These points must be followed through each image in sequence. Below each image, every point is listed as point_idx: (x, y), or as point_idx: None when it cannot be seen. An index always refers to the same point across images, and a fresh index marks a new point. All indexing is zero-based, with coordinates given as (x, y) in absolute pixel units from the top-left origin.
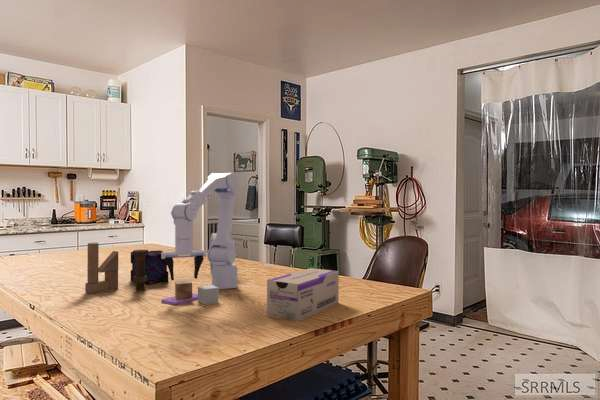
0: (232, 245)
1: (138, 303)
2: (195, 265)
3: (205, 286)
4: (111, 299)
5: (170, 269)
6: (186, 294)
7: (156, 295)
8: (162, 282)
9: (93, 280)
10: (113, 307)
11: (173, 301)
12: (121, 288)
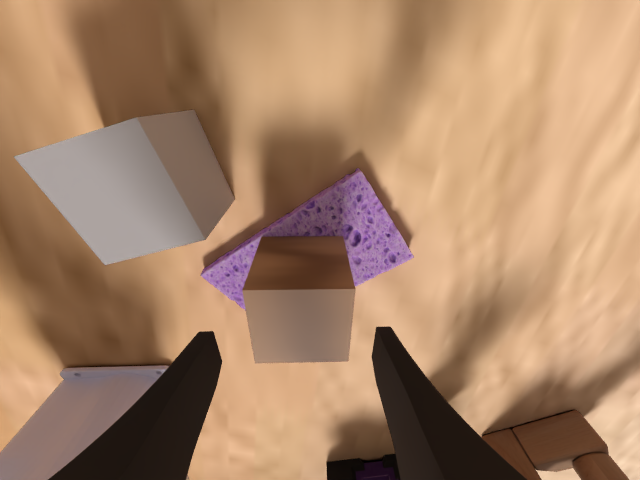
0: None
1: (503, 261)
2: (161, 466)
3: (146, 234)
4: (557, 344)
5: (443, 410)
6: (290, 247)
7: None
8: (344, 462)
9: (605, 464)
10: (623, 229)
11: (367, 194)
12: None
